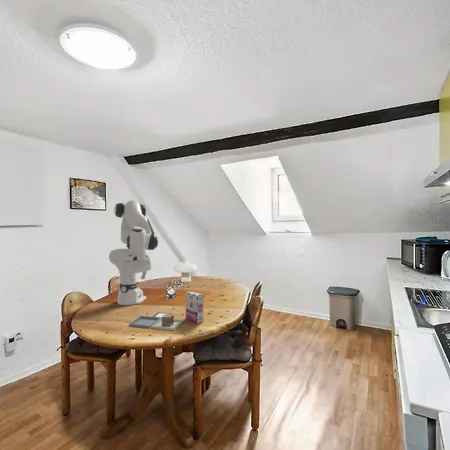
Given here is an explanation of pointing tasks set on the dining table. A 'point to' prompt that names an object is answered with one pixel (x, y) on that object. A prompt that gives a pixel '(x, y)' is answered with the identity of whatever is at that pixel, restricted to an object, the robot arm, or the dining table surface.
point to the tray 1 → (144, 321)
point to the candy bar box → (194, 306)
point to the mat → (161, 314)
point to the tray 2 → (159, 326)
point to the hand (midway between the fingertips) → (137, 280)
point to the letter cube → (167, 320)
